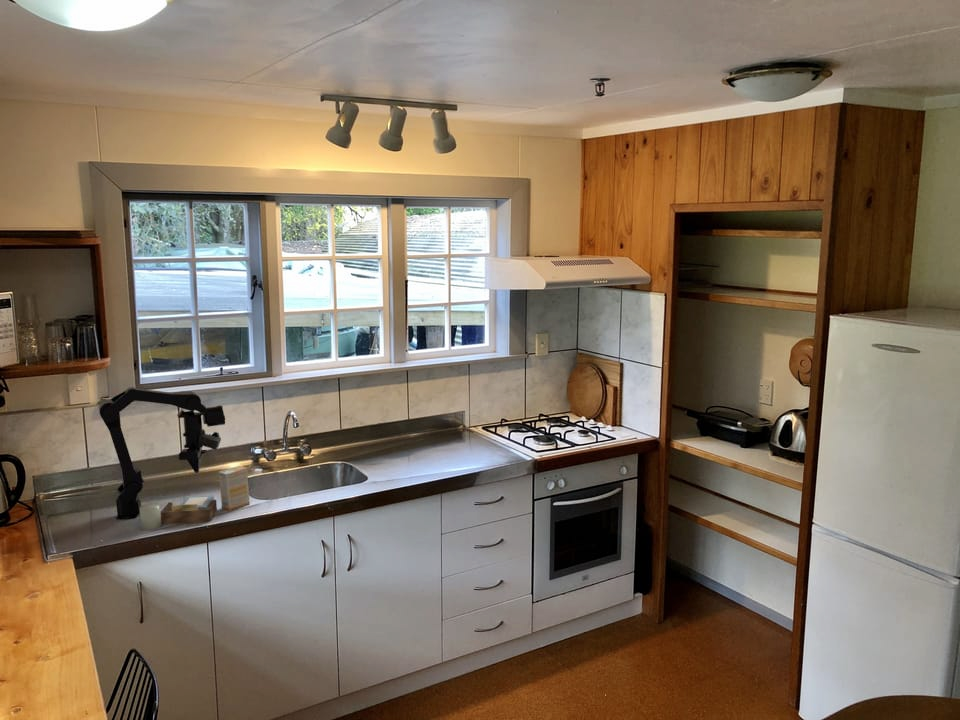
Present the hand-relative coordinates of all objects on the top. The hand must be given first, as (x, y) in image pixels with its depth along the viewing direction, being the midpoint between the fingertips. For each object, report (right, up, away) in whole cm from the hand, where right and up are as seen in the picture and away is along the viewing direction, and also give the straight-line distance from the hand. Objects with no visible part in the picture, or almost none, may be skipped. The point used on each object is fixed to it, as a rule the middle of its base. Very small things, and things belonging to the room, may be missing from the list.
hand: (197, 472), depth 262 cm
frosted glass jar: (-7, -15, -20) cm, 25 cm away
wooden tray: (+2, -13, -12) cm, 18 cm away
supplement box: (+14, -11, -2) cm, 18 cm away
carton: (+4, -13, -10) cm, 17 cm away
